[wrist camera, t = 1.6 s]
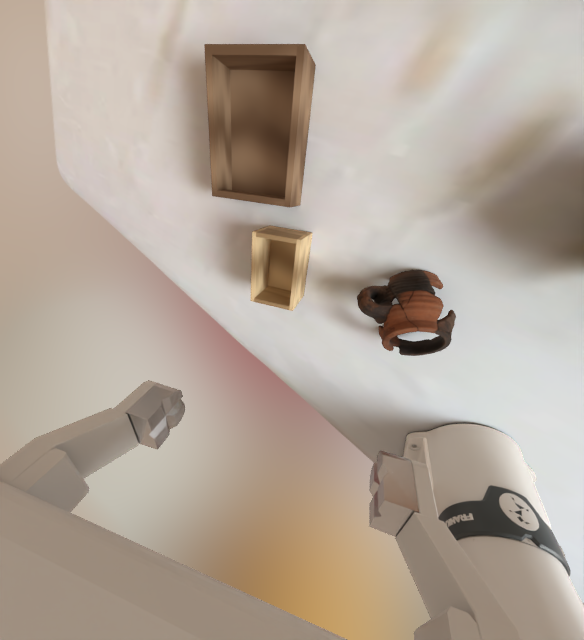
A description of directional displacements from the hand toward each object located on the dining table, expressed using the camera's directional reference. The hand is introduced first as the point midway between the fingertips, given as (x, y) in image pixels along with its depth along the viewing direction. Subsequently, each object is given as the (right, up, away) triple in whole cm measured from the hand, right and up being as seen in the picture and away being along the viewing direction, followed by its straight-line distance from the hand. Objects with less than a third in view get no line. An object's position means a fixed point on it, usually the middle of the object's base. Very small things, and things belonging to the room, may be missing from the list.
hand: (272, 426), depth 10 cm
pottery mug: (+16, +7, +23) cm, 29 cm away
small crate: (0, +12, +25) cm, 28 cm away
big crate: (-2, +25, +19) cm, 32 cm away
